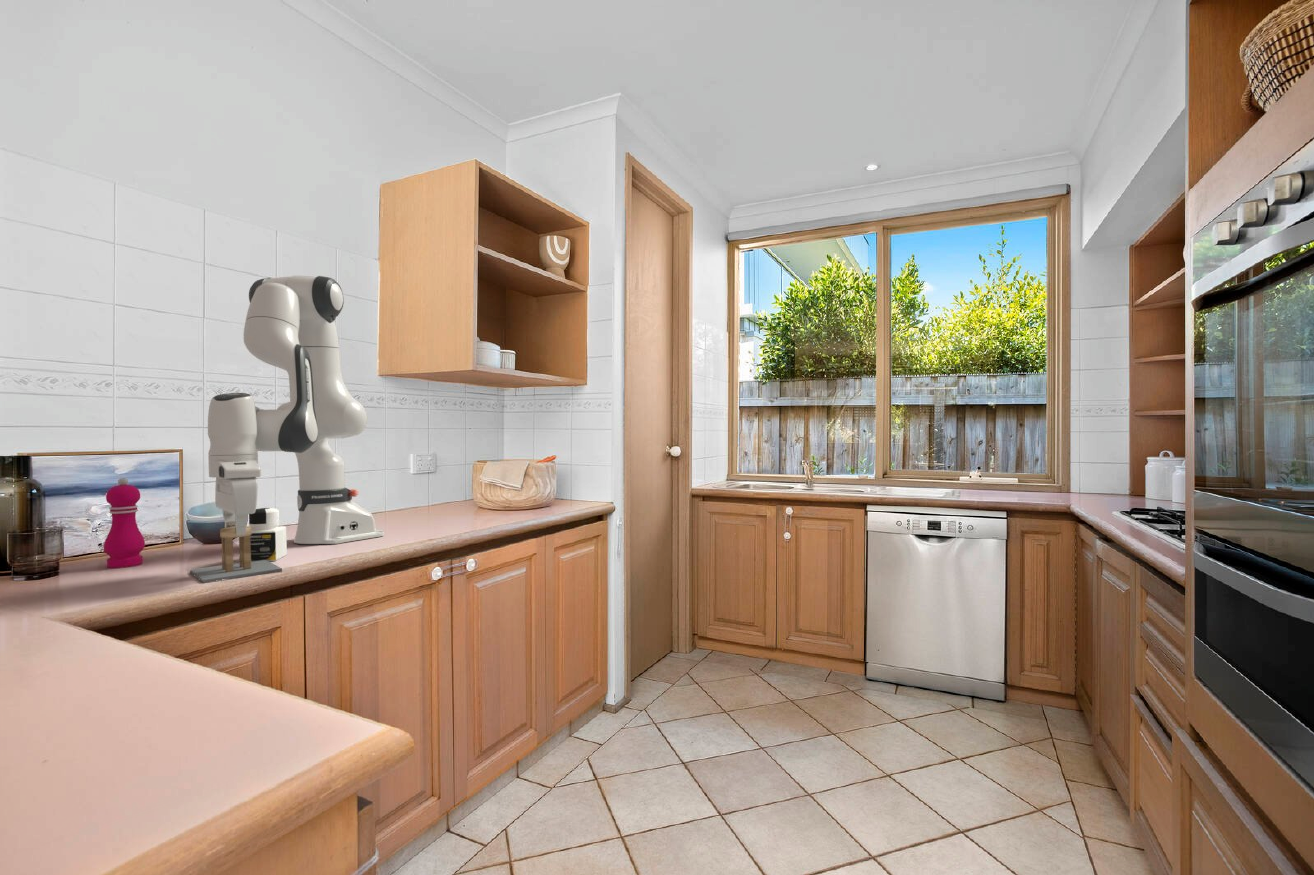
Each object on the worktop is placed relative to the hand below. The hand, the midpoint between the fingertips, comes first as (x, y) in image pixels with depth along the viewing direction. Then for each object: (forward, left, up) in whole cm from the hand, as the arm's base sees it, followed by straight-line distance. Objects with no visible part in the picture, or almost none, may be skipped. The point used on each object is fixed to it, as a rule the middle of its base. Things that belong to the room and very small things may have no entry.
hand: (235, 532), depth 135 cm
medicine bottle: (-8, -11, -9) cm, 16 cm away
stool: (0, 0, -8) cm, 8 cm away
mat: (0, 0, -8) cm, 8 cm away
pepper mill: (+16, -28, -9) cm, 33 cm away
